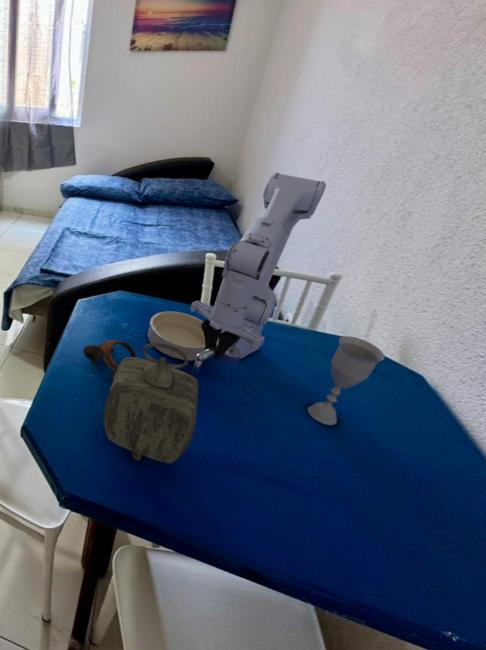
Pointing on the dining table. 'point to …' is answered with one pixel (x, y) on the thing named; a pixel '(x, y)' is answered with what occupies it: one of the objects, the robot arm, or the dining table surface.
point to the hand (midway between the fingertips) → (213, 354)
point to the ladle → (229, 357)
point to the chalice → (347, 373)
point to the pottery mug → (106, 353)
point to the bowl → (177, 334)
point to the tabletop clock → (152, 407)
